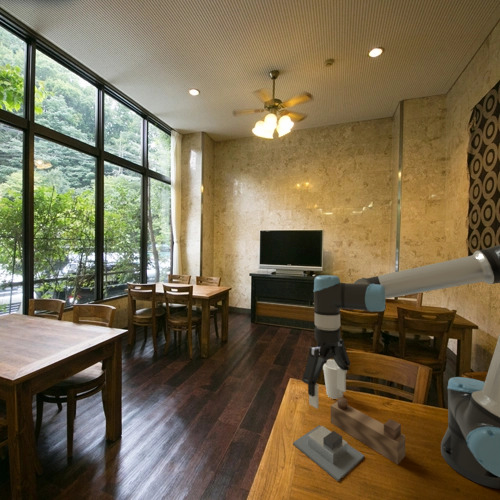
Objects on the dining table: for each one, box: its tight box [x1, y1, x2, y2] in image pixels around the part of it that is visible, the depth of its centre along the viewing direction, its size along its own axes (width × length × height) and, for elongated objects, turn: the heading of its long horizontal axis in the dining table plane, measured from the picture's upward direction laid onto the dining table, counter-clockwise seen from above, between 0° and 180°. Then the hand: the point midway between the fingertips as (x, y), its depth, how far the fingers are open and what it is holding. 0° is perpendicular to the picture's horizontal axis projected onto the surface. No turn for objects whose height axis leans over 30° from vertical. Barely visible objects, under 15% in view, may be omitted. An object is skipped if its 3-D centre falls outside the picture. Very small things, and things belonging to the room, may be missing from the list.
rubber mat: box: [292, 424, 365, 482], centre depth 76 cm, size 16×13×1 cm
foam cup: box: [322, 359, 348, 400], centre depth 105 cm, size 10×9×13 cm
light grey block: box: [308, 425, 348, 464], centre depth 76 cm, size 9×7×5 cm
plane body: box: [330, 396, 406, 465], centre depth 81 cm, size 22×5×9 cm, turn 37°
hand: (328, 397), depth 76 cm, fingers open, 13 cm apart
